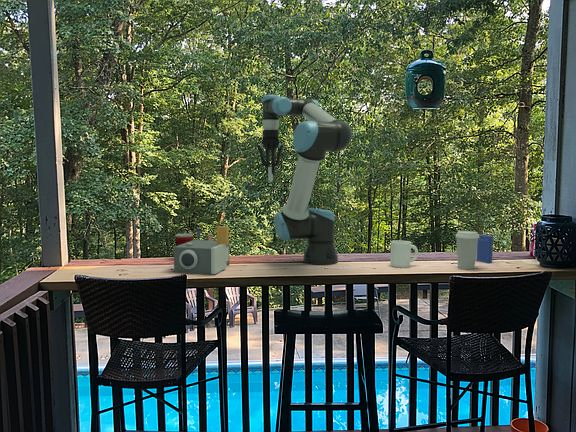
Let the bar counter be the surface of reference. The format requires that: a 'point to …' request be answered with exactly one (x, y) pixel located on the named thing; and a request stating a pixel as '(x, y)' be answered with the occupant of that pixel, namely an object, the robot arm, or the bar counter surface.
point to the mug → (402, 253)
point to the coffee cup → (466, 249)
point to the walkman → (484, 249)
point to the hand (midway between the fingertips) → (270, 181)
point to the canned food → (183, 238)
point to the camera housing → (195, 256)
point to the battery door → (219, 250)
